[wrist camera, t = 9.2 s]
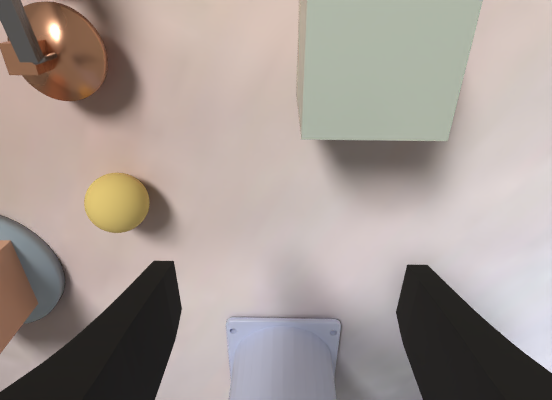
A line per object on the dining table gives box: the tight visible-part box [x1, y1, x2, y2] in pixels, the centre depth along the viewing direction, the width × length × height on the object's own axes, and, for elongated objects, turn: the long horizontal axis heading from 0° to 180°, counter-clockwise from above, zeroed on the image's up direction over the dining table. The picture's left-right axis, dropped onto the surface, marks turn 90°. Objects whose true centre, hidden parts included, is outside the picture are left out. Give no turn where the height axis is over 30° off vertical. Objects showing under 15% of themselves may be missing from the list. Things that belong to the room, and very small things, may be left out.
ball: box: [84, 173, 149, 233], centre depth 20 cm, size 3×3×3 cm
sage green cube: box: [296, 0, 483, 141], centre depth 15 cm, size 5×5×6 cm
